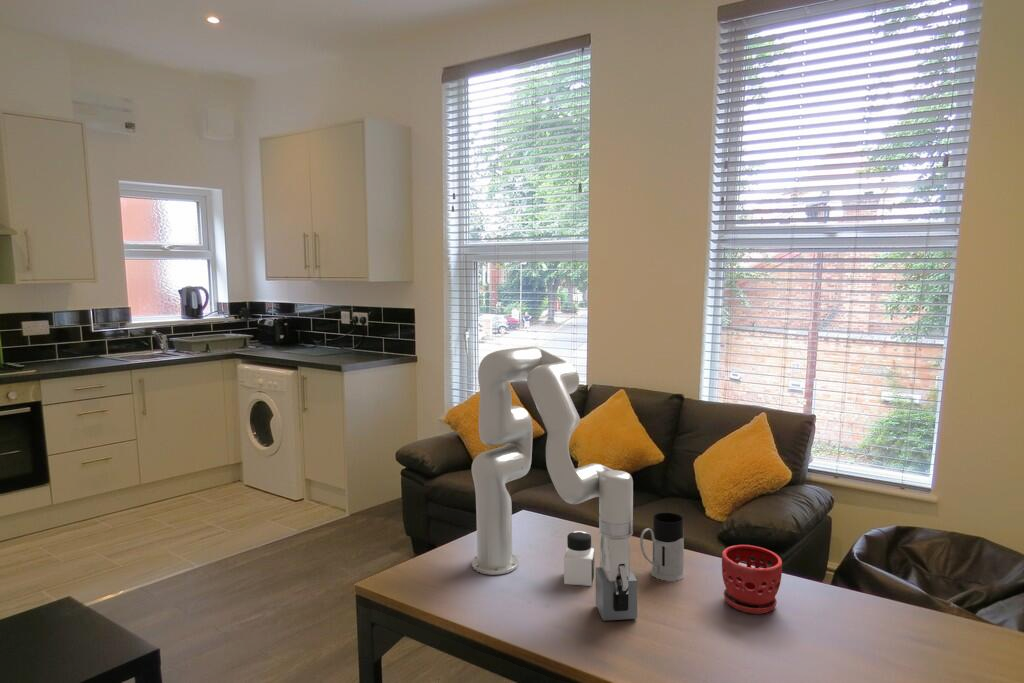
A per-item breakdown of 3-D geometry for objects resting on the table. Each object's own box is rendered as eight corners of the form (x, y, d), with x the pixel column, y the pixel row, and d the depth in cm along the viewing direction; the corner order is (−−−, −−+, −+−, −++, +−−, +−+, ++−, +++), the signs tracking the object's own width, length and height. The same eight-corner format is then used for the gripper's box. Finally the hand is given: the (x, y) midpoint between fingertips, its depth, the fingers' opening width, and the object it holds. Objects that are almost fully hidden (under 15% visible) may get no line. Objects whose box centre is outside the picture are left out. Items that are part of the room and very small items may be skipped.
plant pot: (711, 606, 148) (712, 556, 148) (735, 586, 158) (736, 539, 157) (768, 625, 140) (769, 572, 139) (789, 603, 149) (790, 554, 148)
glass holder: (692, 575, 165) (693, 518, 164) (654, 590, 157) (654, 531, 156) (666, 563, 172) (666, 509, 171) (628, 577, 164) (628, 520, 163)
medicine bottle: (592, 586, 159) (592, 540, 158) (564, 584, 161) (563, 538, 160) (594, 574, 166) (594, 529, 165) (567, 572, 168) (566, 527, 167)
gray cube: (595, 603, 149) (595, 567, 149) (627, 602, 150) (627, 565, 149) (603, 620, 142) (603, 582, 141) (637, 618, 143) (637, 580, 142)
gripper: (591, 513, 153) (591, 584, 154) (608, 542, 135) (609, 621, 137) (622, 512, 153) (622, 583, 155) (643, 540, 136) (643, 619, 138)
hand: (616, 600), depth 146 cm, fingers closed on gray cube, 7 cm apart
